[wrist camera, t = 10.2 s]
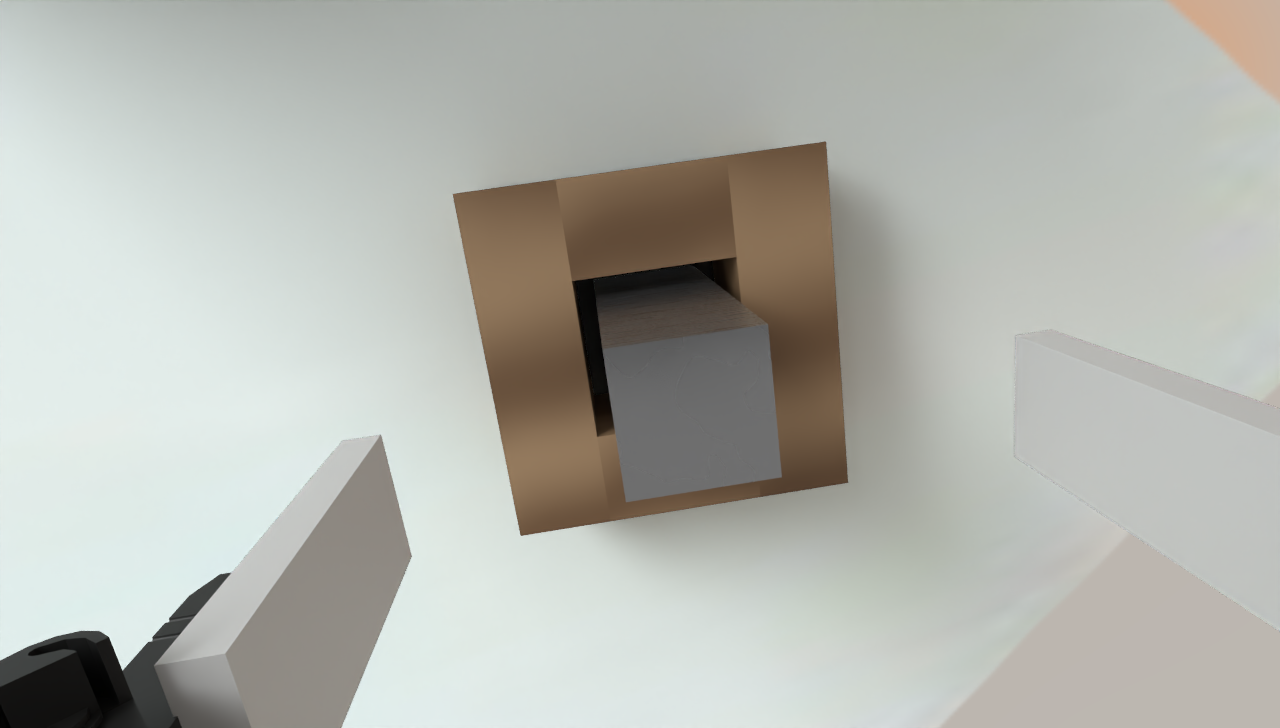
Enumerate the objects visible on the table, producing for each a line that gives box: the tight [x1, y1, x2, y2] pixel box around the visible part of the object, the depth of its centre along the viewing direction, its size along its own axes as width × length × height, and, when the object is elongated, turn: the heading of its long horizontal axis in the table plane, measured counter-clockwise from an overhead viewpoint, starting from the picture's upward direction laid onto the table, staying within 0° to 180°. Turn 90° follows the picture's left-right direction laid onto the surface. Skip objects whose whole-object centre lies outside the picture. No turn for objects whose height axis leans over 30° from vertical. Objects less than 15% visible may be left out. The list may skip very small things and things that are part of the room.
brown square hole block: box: [453, 142, 848, 536], centre depth 27 cm, size 12×12×5 cm
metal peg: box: [593, 265, 782, 502], centre depth 23 cm, size 4×4×12 cm
